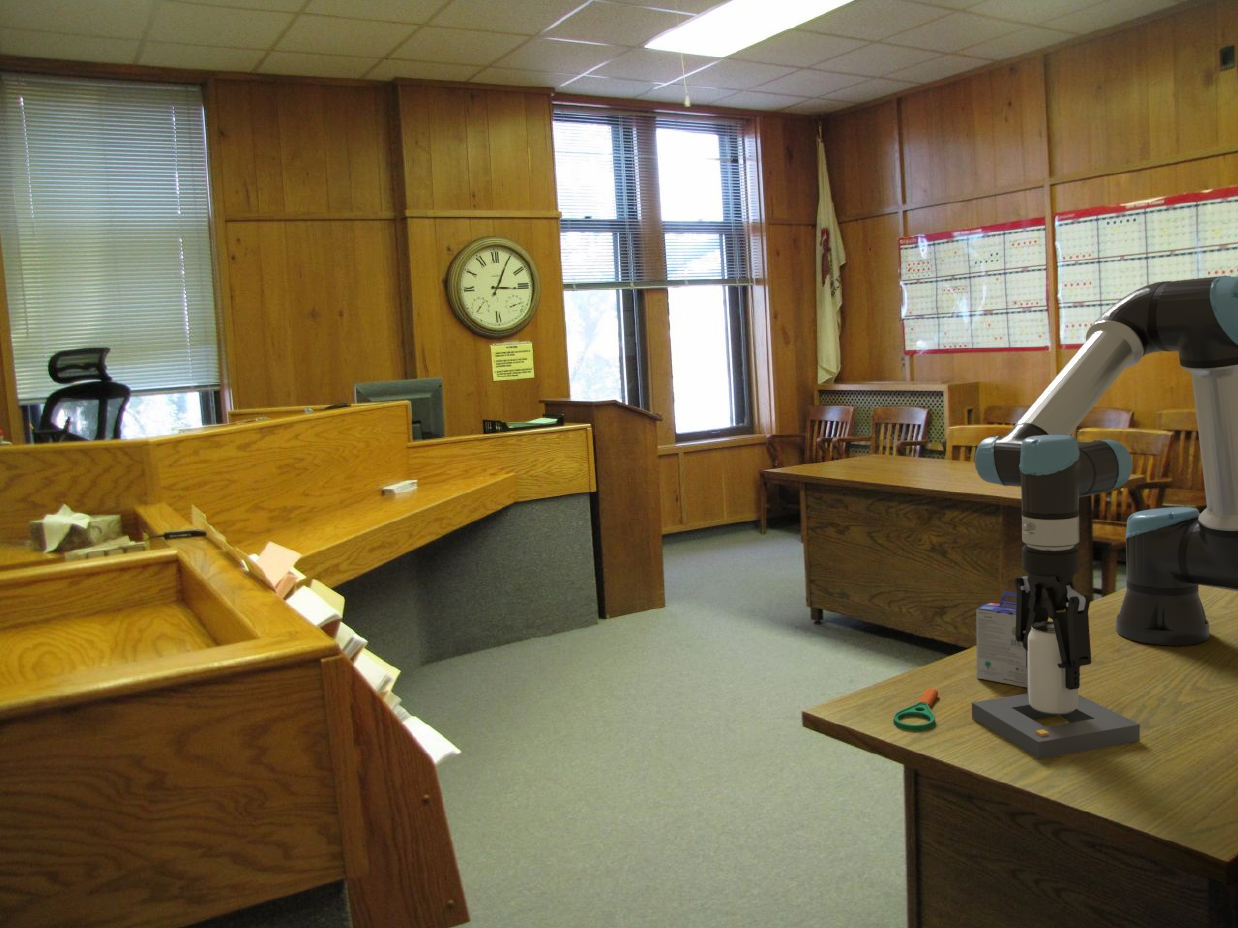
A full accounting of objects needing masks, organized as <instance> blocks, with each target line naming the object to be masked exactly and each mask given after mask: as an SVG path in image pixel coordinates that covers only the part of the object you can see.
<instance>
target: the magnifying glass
mask: <svg viewBox="0 0 1238 928" xmlns="http://www.w3.org/2000/svg"><path fill="white" fill-rule="evenodd" d="M938 696H939V691H938V690H937V689H936V688H931V687H930V688H929V687H928V688H927V689H926V690H925V692H924V693H923V695H922V696H921V698H920V699H919V701H918V702H917V703H915V704H913V705H911V706H908V707H905V708H904V709H901V710H899V711H897V712H895V713H894V715H893V725H894V726H895V727H896V728H899V729H900V730H905V731H908V732H909V731H910V732H911V731H912V732H920V731H926V730H929V729H932V728H933V727H934V726H935V725H936V715H935V714H934V712H933V711H932V709H931V707H932V705H933V704H934V702H935V701H936V698H937V697H938ZM907 717H908V718H909V717H918V718H922V719H925V720H928V722H926V723H923V724H912V723H911V724H910V723H906V722H903V721H901V719H903V718H907Z"/></svg>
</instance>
